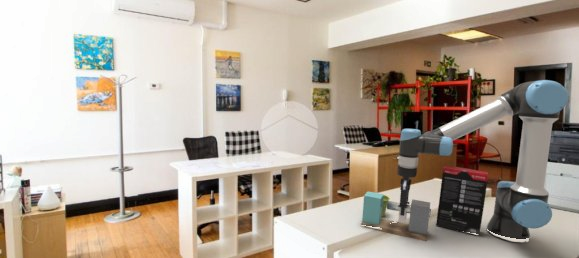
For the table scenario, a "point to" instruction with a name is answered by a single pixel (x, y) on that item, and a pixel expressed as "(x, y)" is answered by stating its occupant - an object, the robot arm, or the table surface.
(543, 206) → the robot arm
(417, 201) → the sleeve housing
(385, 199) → the plant pot
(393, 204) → the steel tube
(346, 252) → the table surface
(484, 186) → the graphics card box
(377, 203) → the teal socket block
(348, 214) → the table surface
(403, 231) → the walnut board
